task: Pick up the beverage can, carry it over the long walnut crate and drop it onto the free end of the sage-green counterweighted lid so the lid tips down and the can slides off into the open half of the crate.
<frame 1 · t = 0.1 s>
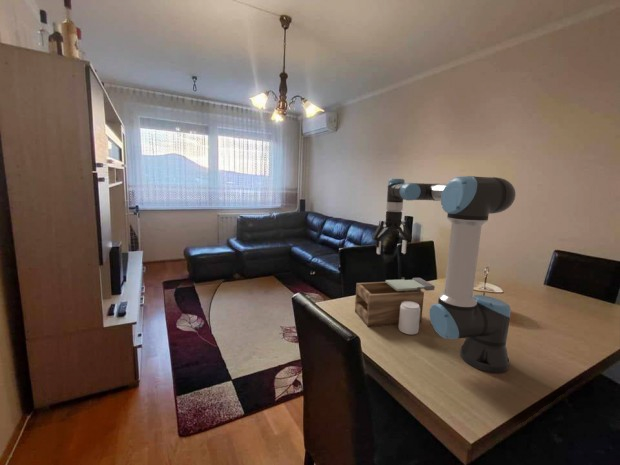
hand: (391, 253, 146), 28 cm above the table, fingers open, 13 cm apart
beverage can: (408, 331, 125), on the table
lid: (409, 284, 138), point 15 cm above the table, hinge at 0.0°
crate: (386, 316, 138), on the table
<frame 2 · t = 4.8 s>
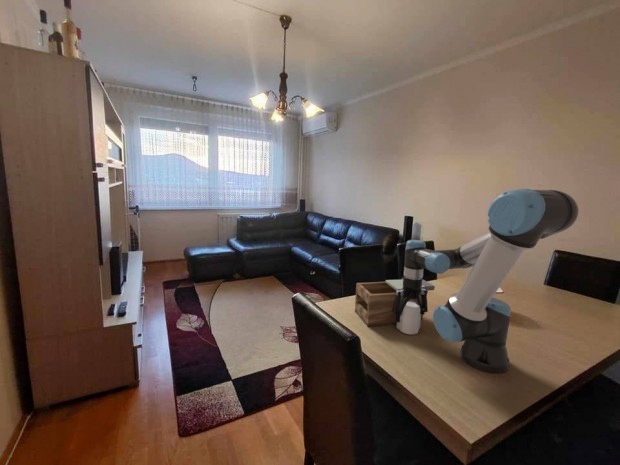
hand: (408, 327, 125), 1 cm above the table, fingers closed on beverage can, 8 cm apart
beverage can: (408, 331, 125), on the table, touching gripper
everything else where it was.
when the fingers open (20 cm above the table, at t = 8.9 s): beverage can drops 12 cm, resting on crate.
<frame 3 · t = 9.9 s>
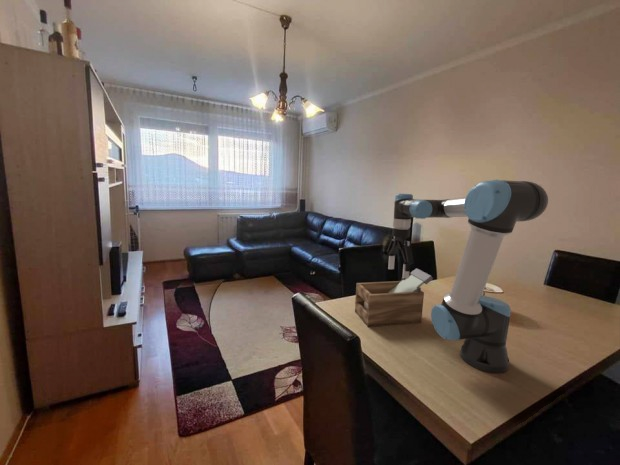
hand: (397, 273, 136), 21 cm above the table, fingers open, 13 cm apart
beverage can: (391, 304, 137), point 7 cm above the table, touching crate
lid: (409, 285, 138), point 15 cm above the table, hinge at -37.7°
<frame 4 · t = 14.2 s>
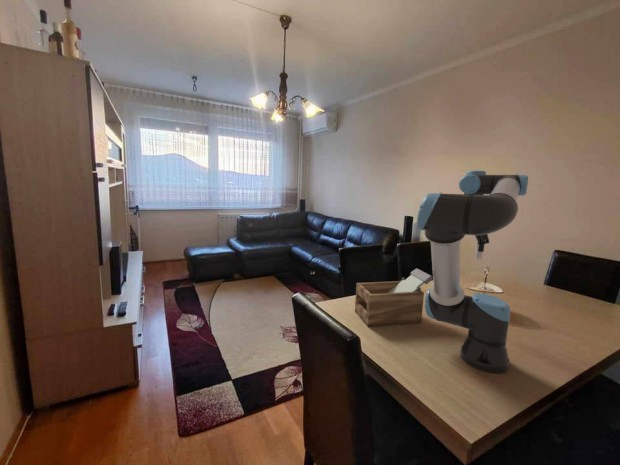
hand: (466, 255, 130), 32 cm above the table, fingers open, 13 cm apart
beverage can: (394, 308, 136), point 5 cm above the table, touching crate
everything else where it was.
at the end: beverage can inside the target area on the crate (3.3 cm from its centre), point 5.0 cm above the crate's base; the gripper is holding nothing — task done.
